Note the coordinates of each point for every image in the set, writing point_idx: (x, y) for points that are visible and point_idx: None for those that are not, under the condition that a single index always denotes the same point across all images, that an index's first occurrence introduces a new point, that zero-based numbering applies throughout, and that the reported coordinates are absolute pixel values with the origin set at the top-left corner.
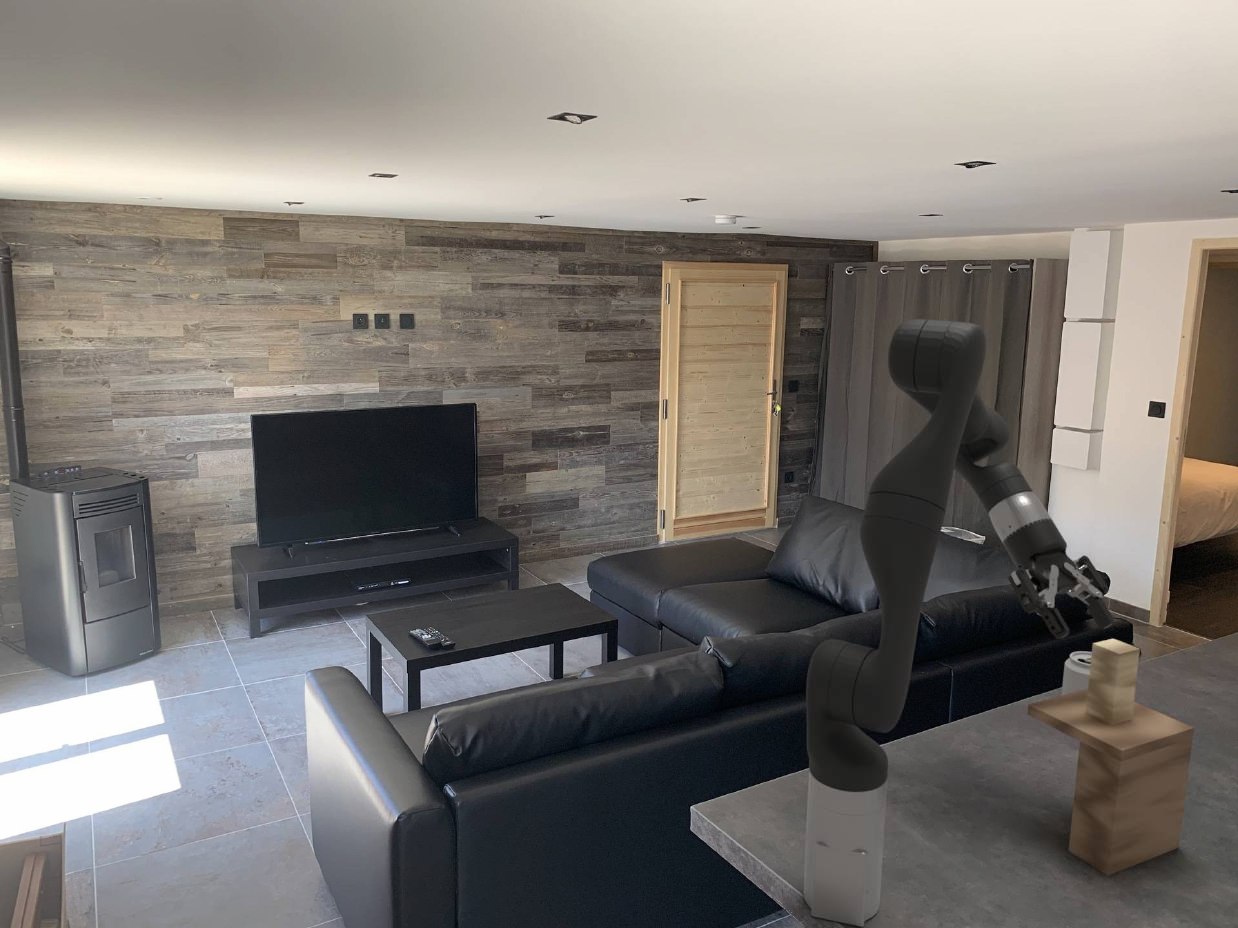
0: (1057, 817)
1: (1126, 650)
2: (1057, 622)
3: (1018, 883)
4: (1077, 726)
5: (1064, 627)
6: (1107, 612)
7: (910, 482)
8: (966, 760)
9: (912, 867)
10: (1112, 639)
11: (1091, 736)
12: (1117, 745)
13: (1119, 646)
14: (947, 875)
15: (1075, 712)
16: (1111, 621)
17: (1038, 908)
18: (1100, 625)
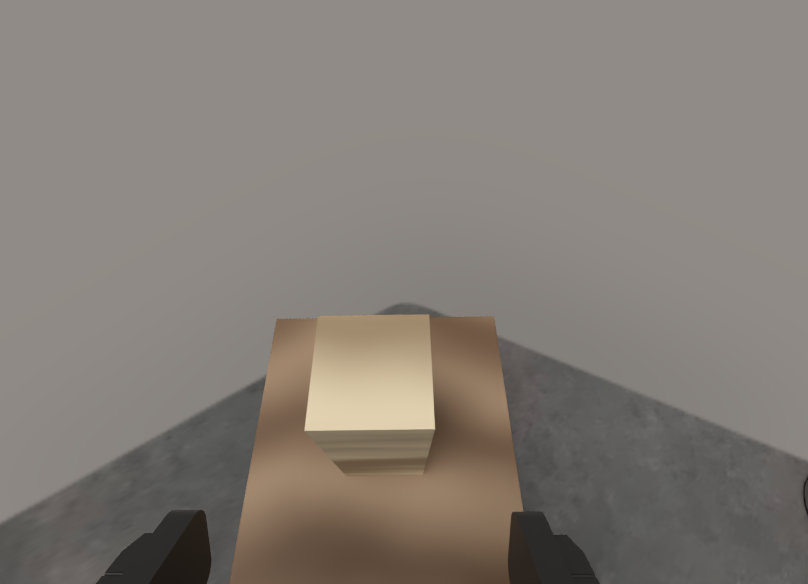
0: None
1: (376, 325)
2: (575, 581)
3: (585, 437)
4: (501, 427)
5: (546, 530)
6: (147, 554)
7: None
8: None
9: (724, 538)
10: (318, 423)
11: (503, 383)
12: (485, 333)
13: (364, 359)
14: (676, 496)
15: (446, 487)
16: (186, 512)
17: (590, 390)
18: (202, 577)
